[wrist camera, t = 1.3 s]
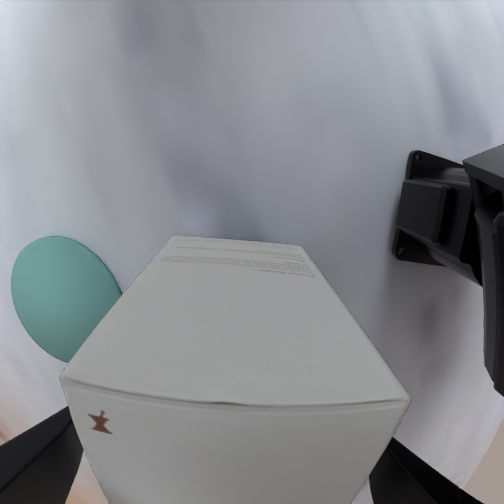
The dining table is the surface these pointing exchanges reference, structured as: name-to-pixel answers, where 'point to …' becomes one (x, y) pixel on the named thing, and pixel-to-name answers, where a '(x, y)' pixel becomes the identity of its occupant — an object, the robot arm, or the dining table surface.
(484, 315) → the robot arm
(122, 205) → the dining table surface
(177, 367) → the supplement box
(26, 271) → the teal round disc
